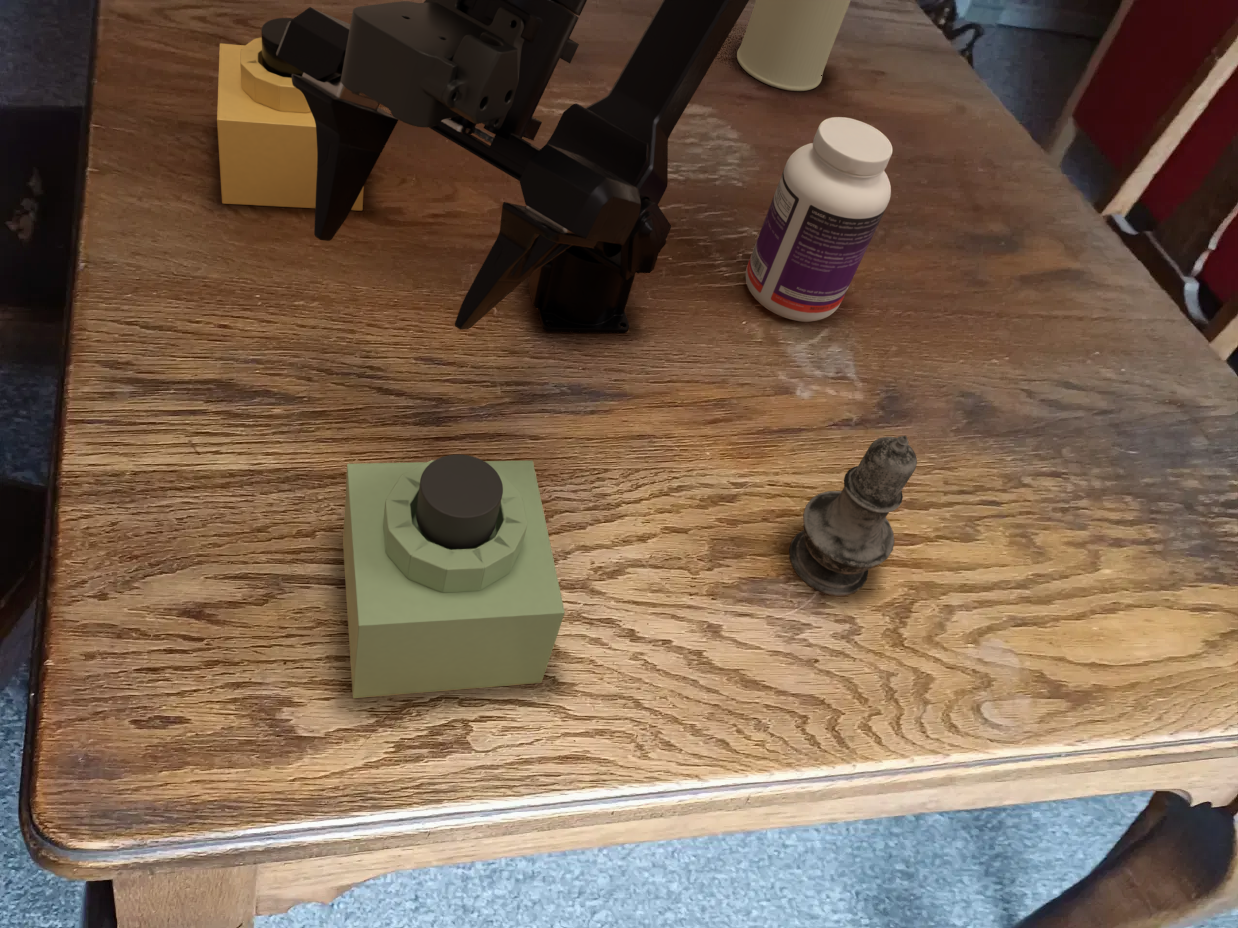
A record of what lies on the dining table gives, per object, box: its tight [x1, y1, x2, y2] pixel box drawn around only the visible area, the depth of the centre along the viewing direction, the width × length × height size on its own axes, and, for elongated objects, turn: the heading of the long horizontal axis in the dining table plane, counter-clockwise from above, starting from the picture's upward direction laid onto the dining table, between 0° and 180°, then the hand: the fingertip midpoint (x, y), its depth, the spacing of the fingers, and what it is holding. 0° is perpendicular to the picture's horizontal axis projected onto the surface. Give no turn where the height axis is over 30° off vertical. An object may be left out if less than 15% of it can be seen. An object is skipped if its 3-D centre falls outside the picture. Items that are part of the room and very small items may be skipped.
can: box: [736, 0, 852, 92], centre depth 108 cm, size 9×9×12 cm
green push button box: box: [342, 459, 566, 699], centre depth 57 cm, size 10×10×9 cm
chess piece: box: [788, 435, 918, 597], centre depth 64 cm, size 6×6×12 cm
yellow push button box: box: [216, 36, 365, 212], centre depth 80 cm, size 10×10×9 cm
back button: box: [260, 17, 304, 78], centre depth 76 cm, size 4×4×3 cm
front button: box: [416, 453, 503, 549], centre depth 53 cm, size 4×4×2 cm
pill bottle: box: [745, 116, 893, 323], centre depth 81 cm, size 8×8×14 cm
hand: (390, 282), depth 55 cm, fingers open, 9 cm apart
